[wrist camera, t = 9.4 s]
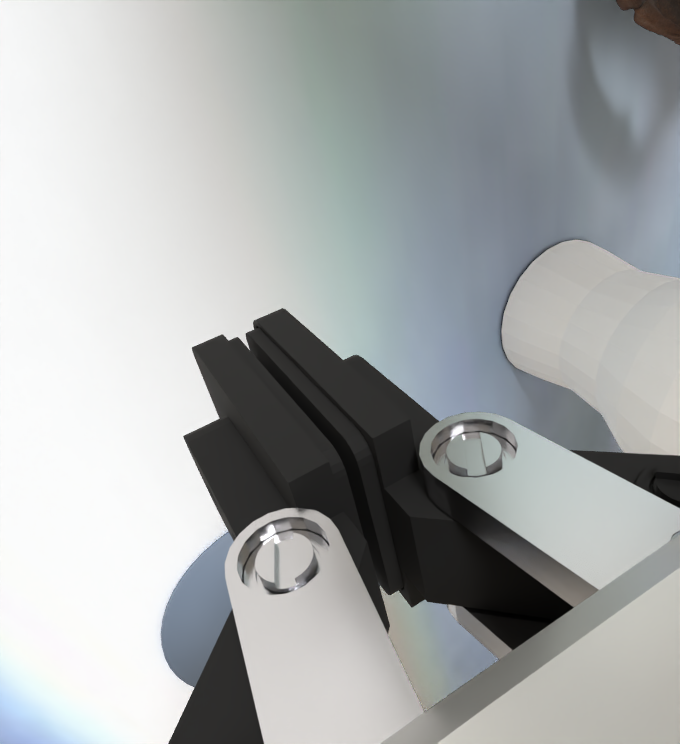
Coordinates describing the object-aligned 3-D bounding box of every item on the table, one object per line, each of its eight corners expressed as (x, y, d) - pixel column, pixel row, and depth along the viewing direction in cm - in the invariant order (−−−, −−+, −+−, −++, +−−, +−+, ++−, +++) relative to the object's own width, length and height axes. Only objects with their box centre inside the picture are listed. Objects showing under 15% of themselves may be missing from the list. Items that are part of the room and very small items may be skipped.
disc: (118, 588, 28) (119, 592, 28) (361, 459, 32) (363, 461, 32) (209, 725, 35) (210, 728, 35) (398, 607, 39) (400, 609, 39)
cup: (653, 240, 35) (989, 340, 24) (570, 403, 38) (832, 563, 27) (534, 184, 29) (905, 282, 18) (448, 382, 32) (715, 577, 21)
